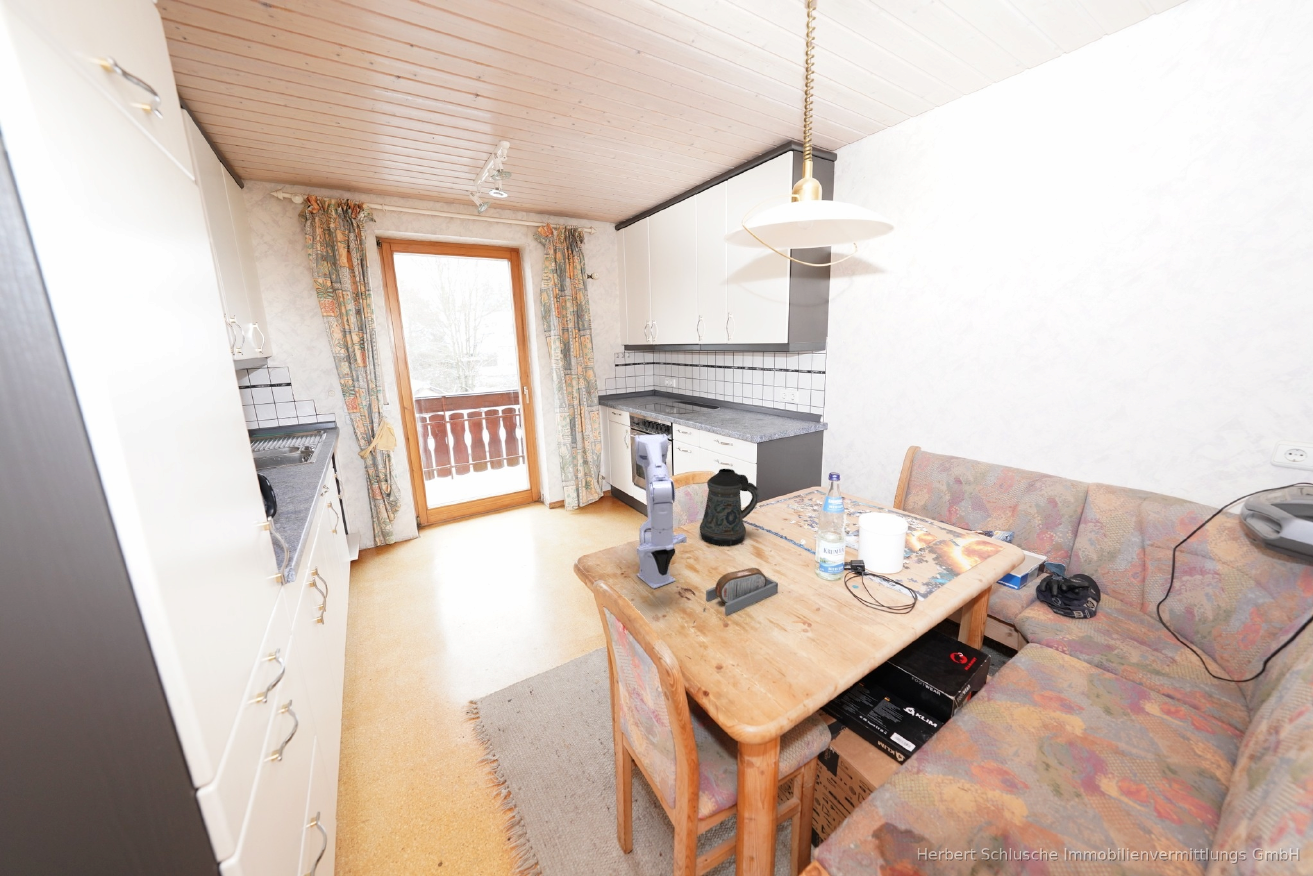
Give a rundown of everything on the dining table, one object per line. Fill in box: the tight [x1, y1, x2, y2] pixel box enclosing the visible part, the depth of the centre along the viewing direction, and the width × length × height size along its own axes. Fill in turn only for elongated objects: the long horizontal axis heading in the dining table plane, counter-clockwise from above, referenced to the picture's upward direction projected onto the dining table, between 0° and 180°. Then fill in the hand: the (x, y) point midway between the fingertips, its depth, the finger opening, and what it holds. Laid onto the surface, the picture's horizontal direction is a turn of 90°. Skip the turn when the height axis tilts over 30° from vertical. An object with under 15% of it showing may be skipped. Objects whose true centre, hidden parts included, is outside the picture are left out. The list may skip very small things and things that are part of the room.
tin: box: [714, 567, 767, 604], centre depth 125 cm, size 15×3×8 cm, turn 111°
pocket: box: [705, 576, 779, 616], centre depth 127 cm, size 9×19×3 cm, turn 123°
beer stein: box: [699, 468, 760, 547], centre depth 162 cm, size 16×19×25 cm
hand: (662, 573), depth 121 cm, fingers closed
